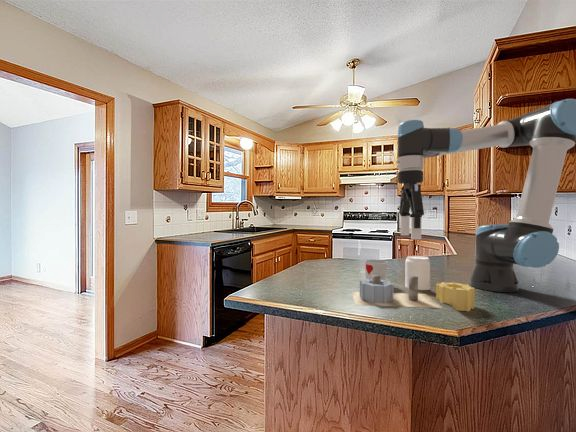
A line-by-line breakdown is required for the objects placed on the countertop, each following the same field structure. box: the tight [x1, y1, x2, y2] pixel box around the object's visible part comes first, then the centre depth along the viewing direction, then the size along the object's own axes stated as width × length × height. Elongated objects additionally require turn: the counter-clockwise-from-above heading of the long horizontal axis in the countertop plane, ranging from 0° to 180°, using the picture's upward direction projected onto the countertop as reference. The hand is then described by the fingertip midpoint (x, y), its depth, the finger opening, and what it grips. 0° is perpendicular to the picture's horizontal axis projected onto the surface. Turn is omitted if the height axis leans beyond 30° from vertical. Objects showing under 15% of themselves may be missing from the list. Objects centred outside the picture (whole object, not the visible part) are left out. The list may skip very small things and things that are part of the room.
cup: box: [364, 259, 389, 281], centre depth 112 cm, size 8×8×10 cm
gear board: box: [350, 275, 443, 309], centre depth 94 cm, size 24×14×8 cm, turn 84°
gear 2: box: [435, 281, 475, 312], centre depth 93 cm, size 10×10×6 cm
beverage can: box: [404, 255, 431, 291], centre depth 109 cm, size 8×8×12 cm
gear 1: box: [359, 278, 395, 303], centre depth 95 cm, size 10×10×5 cm
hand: (410, 237), depth 99 cm, fingers open, 13 cm apart
